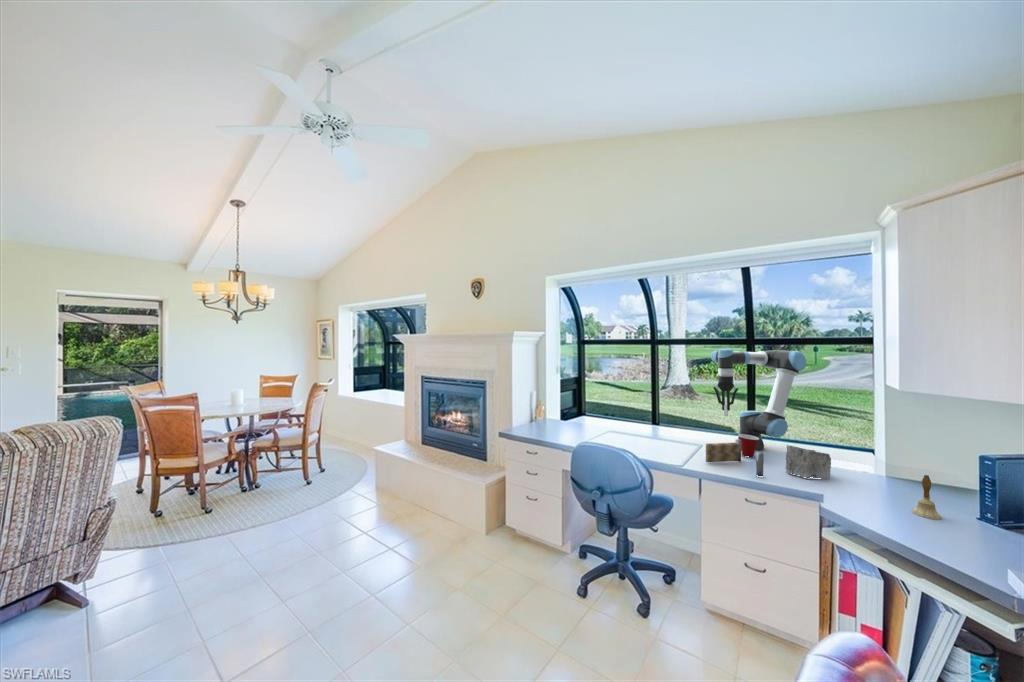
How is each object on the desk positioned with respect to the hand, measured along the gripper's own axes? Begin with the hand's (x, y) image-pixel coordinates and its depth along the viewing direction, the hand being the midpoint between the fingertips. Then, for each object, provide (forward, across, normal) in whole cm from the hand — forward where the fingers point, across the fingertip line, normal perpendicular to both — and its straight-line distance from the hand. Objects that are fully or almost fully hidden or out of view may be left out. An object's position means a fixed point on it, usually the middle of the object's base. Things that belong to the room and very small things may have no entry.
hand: (726, 415), depth 223 cm
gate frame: (+24, +6, -16) cm, 30 cm away
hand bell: (+26, +75, -30) cm, 85 cm away
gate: (+23, 0, -11) cm, 26 cm away
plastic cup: (+25, +10, +12) cm, 30 cm away
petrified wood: (+26, +38, -5) cm, 46 cm away
